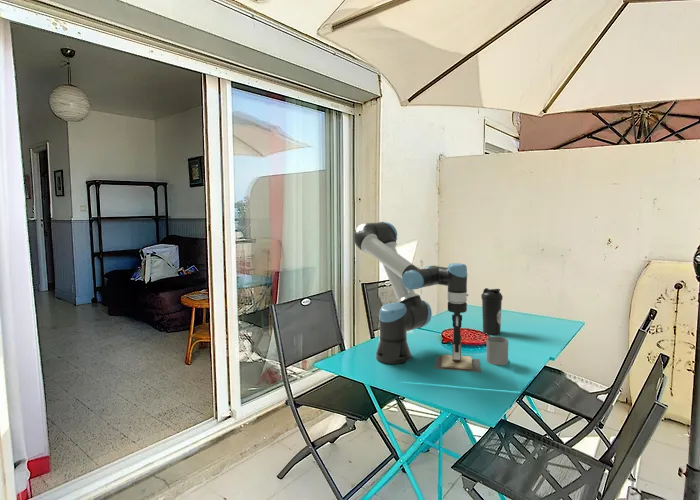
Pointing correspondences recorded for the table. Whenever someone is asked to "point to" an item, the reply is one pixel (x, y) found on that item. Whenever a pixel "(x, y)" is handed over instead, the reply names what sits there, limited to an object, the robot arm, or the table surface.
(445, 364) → the lid
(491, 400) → the table surface
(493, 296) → the water bottle
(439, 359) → the mat
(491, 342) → the cup
